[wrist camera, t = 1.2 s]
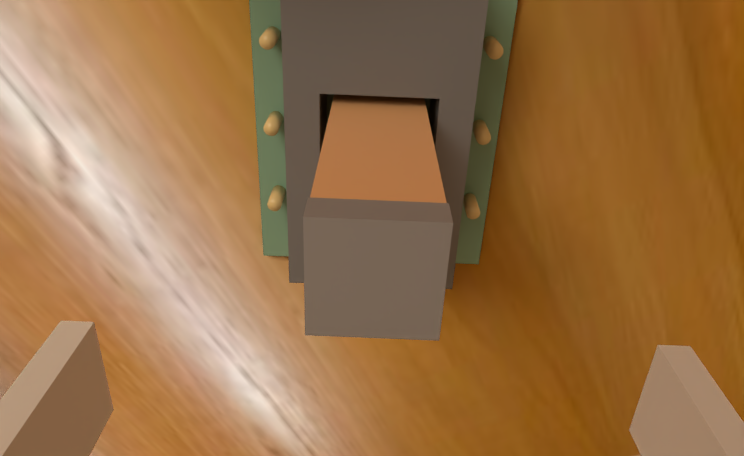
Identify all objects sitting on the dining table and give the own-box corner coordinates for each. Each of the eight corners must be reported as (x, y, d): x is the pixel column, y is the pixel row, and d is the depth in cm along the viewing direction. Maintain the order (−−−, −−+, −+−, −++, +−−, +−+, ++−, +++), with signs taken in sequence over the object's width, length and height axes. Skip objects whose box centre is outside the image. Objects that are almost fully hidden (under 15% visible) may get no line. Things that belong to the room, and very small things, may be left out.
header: (247, -64, 26) (224, -57, 22) (523, -52, 26) (547, -43, 22) (265, 250, 34) (249, 297, 30) (477, 259, 34) (489, 307, 30)
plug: (336, 78, 29) (303, 216, 16) (422, 82, 29) (453, 222, 16) (335, 159, 31) (305, 335, 18) (416, 162, 31) (438, 340, 18)
